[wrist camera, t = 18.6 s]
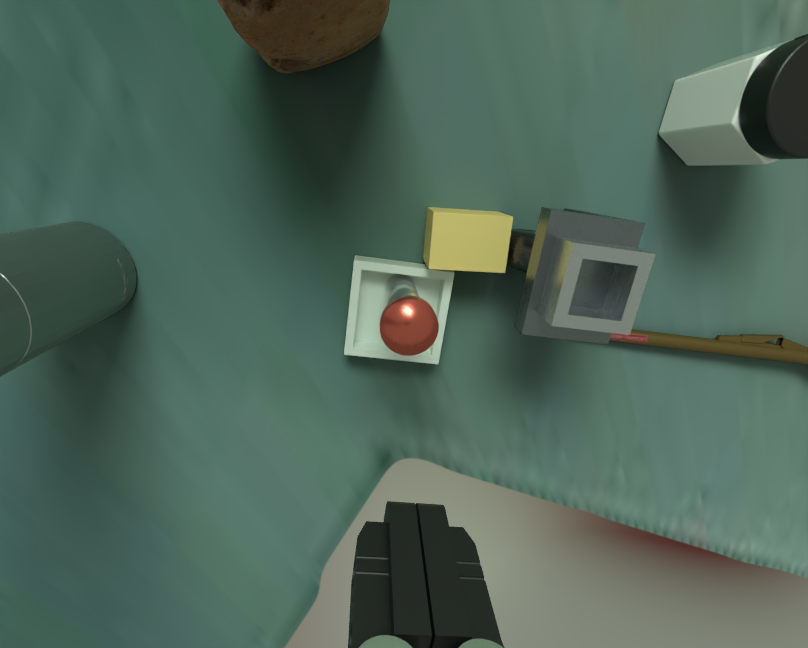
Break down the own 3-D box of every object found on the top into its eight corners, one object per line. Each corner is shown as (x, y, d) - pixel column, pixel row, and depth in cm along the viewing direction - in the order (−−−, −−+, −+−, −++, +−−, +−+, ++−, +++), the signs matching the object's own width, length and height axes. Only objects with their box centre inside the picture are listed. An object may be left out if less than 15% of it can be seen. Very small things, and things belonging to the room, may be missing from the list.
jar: (766, 112, 42) (910, 90, 31) (699, 182, 44) (812, 186, 33) (708, 41, 40) (841, -10, 29) (640, 118, 42) (740, 99, 30)
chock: (422, 258, 45) (428, 268, 40) (427, 207, 43) (433, 211, 38) (491, 262, 45) (505, 273, 41) (498, 211, 44) (513, 216, 39)
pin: (375, 306, 45) (376, 352, 34) (381, 263, 44) (384, 296, 32) (418, 311, 46) (433, 358, 34) (425, 269, 44) (443, 303, 33)
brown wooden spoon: (560, 344, 50) (569, 303, 49) (852, 378, 52) (866, 339, 51) (577, 357, 46) (588, 312, 45) (896, 394, 48) (913, 351, 47)
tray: (345, 345, 47) (344, 354, 45) (355, 255, 44) (353, 259, 42) (435, 354, 48) (438, 364, 46) (450, 267, 45) (454, 272, 43)
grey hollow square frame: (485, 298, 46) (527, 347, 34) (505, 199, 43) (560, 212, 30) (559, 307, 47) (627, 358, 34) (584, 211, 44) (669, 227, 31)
